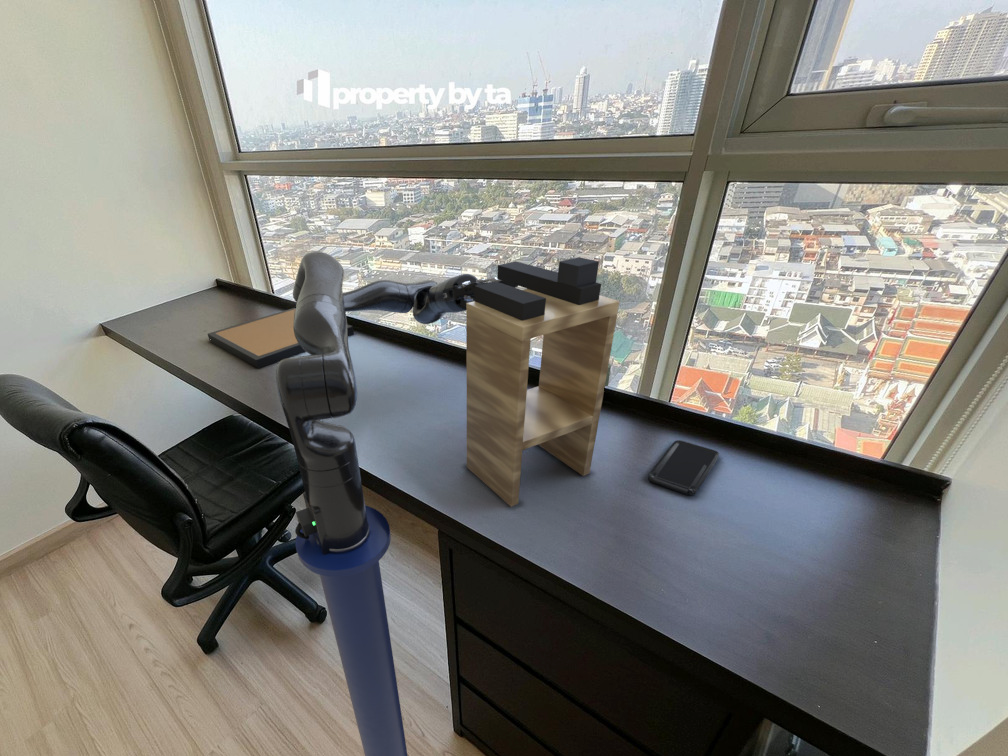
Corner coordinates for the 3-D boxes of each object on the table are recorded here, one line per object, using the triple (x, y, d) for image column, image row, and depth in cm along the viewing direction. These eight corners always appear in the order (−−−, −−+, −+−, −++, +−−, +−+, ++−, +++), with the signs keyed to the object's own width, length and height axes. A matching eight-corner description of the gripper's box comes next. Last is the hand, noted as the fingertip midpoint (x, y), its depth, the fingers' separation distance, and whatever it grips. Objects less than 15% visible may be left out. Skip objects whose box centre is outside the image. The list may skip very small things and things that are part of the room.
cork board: (298, 314, 183) (209, 341, 164) (297, 306, 181) (207, 333, 162) (354, 334, 160) (258, 368, 141) (352, 326, 158) (255, 359, 140)
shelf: (511, 507, 83) (522, 327, 65) (466, 467, 93) (466, 302, 76) (589, 473, 89) (619, 300, 71) (539, 439, 100) (555, 282, 82)
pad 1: (522, 320, 67) (523, 303, 66) (474, 301, 76) (474, 285, 75) (544, 315, 68) (546, 298, 67) (494, 296, 77) (495, 281, 76)
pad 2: (578, 305, 71) (583, 267, 68) (497, 279, 86) (498, 247, 83) (599, 299, 72) (604, 262, 69) (515, 275, 87) (516, 243, 84)
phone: (647, 475, 85) (676, 438, 94) (646, 480, 86) (675, 443, 95) (695, 492, 81) (721, 452, 89) (694, 497, 81) (719, 457, 90)
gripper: (487, 306, 110) (530, 298, 95) (432, 317, 105) (468, 310, 90) (482, 272, 108) (526, 258, 93) (426, 281, 103) (462, 269, 88)
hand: (497, 284), depth 92 cm, fingers open, 8 cm apart
